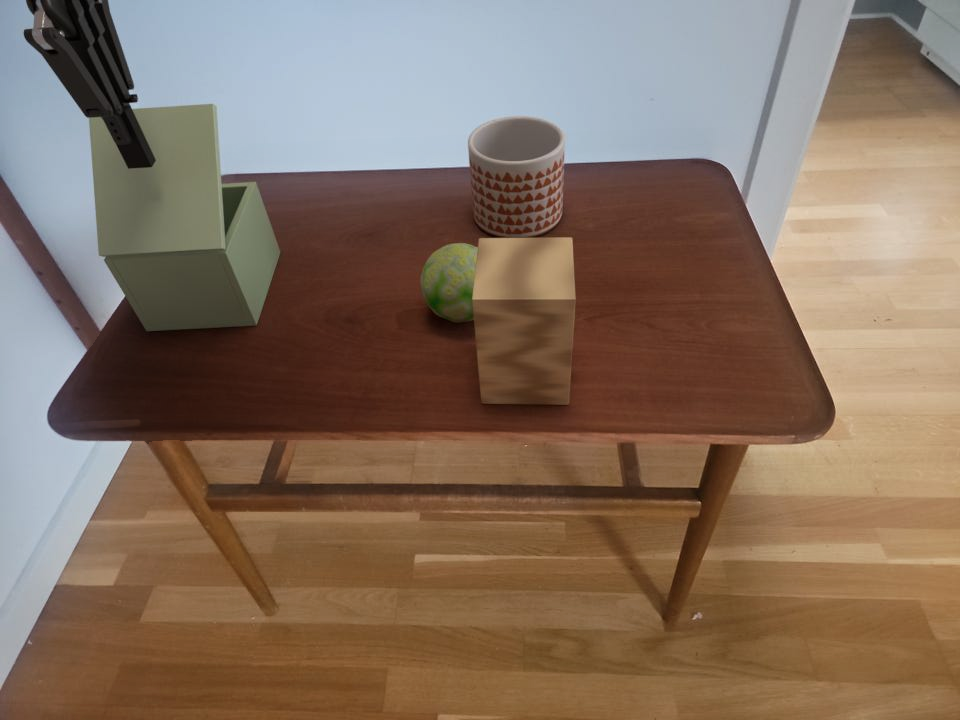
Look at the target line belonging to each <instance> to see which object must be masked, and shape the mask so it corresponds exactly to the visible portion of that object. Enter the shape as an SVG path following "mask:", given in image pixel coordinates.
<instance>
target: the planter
mask: <svg viewBox="0 0 960 720" xmlns="http://www.w3.org/2000/svg"><path fill="white" fill-rule="evenodd" d="M467 150H468V152H467V153H468V162H469V163H468V164H469V175H470V186H471V188H470V189H471V199H472V200H471V201H472V213H473V219H474V222H475V224H476V225H477V226H478V227H479V228H480V229H481V230H482V231H484V232H485V233H487V234H489V235H491V236H494V237H495V238H537V237H538V236H541V235H544V234H546V233H549V232H550V231H551V230H553V229H554V228H555V227H556V226H557V225H558V224H559V222H560V221H561V219H562V216H563V207H564V206H563V205H564V204H563V202H564V179H565V155H566V154H565V151H566V136H565V134H564V132H563V130H562V129H561V128H560V127H559V126H558V125H557V124H555V123H554V122H551V121H549V120H546V119H543V118H540V117H534V116H524V115H517V116H506V117H500V118H496V119H493V120H489V121H486V122H484V123H482V124H480V125H479V126H477V127H476V128H475V129H473V130H472V132H471V133H470V134H469V136H468V139H467Z"/></svg>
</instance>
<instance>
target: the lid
mask: <svg viewBox="0 0 960 720" xmlns="http://www.w3.org/2000/svg"><path fill="white" fill-rule="evenodd" d="M132 110H133V112H134V114H135V116H136V119H137V121H138V123H139V125H140V127H141V129H142V131H143V134H144V136H145V138H146V140H147V142H148V144H149V146H150V149H151V151H152V153H153V155H154V157H155V159H156V161H155V163H154V165H153V166H152V167H148V168H132V169H128V167H127V165H126V163H125V161H124V159H123V157H122V155H121V153H120V151H119V149H118V147H117V145H116V143H115V142H114V140H113V138H112V136H111V134H110V132H109V131H108V129H107V127H106V125H105V123H104V121H103V119H102V118H101V117H93V118H88V123H89V125H88V127H89V138H90V139H89V141H90V151H91V153H90V154H91V167H92V168H91V169H92V180H93V196H94V207H95V208H94V209H95V222H96V236H97V250H98V256H99V257H104V258H105V257H108V256H126V255H143V254H161V253H178V252H196V251H213V250H226V246H225V230H224V215H223V199H222V184H223V183H222V172H221V171H222V170H221V155H220V142H219V141H220V138H219V125H218V124H219V123H218V110H217V105H215V104H214V103H203V104H188V105H171V106H155V107H141V108H140V107H139V108H138V107H137V108H132Z"/></svg>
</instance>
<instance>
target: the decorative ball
mask: <svg viewBox="0 0 960 720" xmlns="http://www.w3.org/2000/svg"><path fill="white" fill-rule="evenodd" d="M477 251H478V246H474V245H473V244H470V243H466V242H458V243H455V242H454V243H449V244H446V245H444V246H442V247H440V248H438V249H436V250H435V251H433V253H431V255H430V256H429V257H428V258H427V260H426V261H425V264H424V267H423V268H422V270H421V275H420V280H419V281H420V289H421V293H422V296H423V298H424V300H425V302H426V305H427V306H428V308H429V309H430V310H431V311H432V313H434V314H435V315H436V316H438V317H440V318H442V319H446V320H448V321H450V322H453V323H464V322H465V323H466V322H472V321H474V315H473V304H472V296H473V287H474V278H475V269H476V260H477Z"/></svg>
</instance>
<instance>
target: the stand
mask: <svg viewBox="0 0 960 720" xmlns="http://www.w3.org/2000/svg"><path fill="white" fill-rule="evenodd" d="M573 241H574V240H573V237H571V236H570V237H565V236H562V237H561V236H560V237H557V236H556V237H532V238H500V237H479V238H478V243H477V247H478V251H477V260H476V269H475V278H474V287H473V296H472V304H473V315H474V320H473V324H474V325H473V326H474V336H475V337H474V338H475V347H476V348H475V349H476V358H477V368H478V369H477V372H478V381H479V392H480V403H481V405H482V404H483V405H547V406H558V405H559V406H568V405H570V394H571V393H570V391H571V378H572V377H571V376H572V375H571V374H572V362H573V361H572V360H573V345H574V331H575V315H576V297H577V296H576V283H575V282H576V281H575V280H576V279H575V265H574V264H575V263H574V243H573Z"/></svg>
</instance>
